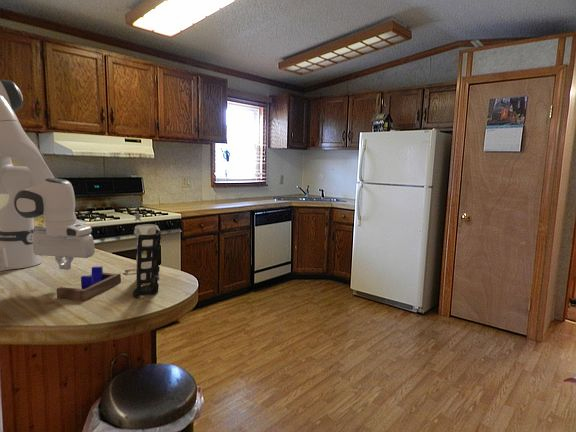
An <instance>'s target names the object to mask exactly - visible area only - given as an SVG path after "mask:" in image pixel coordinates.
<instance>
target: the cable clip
mask: <svg viewBox="0 0 576 432" xmlns="http://www.w3.org/2000/svg"><path fill="white" fill-rule="evenodd" d="M103 273H104V271H103V265H102V266H101V265H99V266H92V267H91V274H90V275H89V274H88V275H82V276H80V285H81V289H85V288H87V287H89V286H91V285H93V284H96V283H98V282H100V281H102V280H103Z"/></svg>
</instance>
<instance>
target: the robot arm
mask: <svg viewBox="0 0 576 432" xmlns="http://www.w3.org/2000/svg"><path fill="white" fill-rule="evenodd" d="M23 106H24V96H23V94H22V91H21V89H20V88H19V87H18V86H17V84H16V82H13V81H12V80H9V79H0V195H8V201H7V202H6V204H5V205H4V206H2V207H1V208H0V272H3V271H8V270H17V269H24V268H29V267H34V266H37V265H40V264H42V257H41V256H44V257H45V256H46V257H54V260H55V261H56V263H57V265H58V266H59V267H58V268H59V270H64V271H65V270H67V271H69V270H70V269H71V268H72V262H73V260H74V259H75V258H78V259H79V258H82V259H88V258H91V257H93V256H94V255H95V252H96V251H95V250H96V249H95V248H96V247H95V241H94V237H93V235H92V232H93V229H92V227H91V226H90V225H88V224H87V225H86V224H85V223H82V222H80V221H77V216H76V212H75V211H76V210H75V209H76V196H75V191H74V187H73V185H72V182H70V181H69V180H67V179H64V178H60V177H59V178H58V177H57V175H56V174H55V172H54V169H52V167H51V165H50V163H49V162H48V160H47V159H46V157H45V155H44V153H43V152H42V151H41V149H40V148H39V147H38V146H37V145H36V144H35V143H34V142H33V141H32V139H30V137H29V136H28V134H27V133H26V132H25V130H24V129H23V127H22V124H21V123H20V121H19V118H18V117H17V114H16V112H17V111H18V110H20V109H21V108H22V107H23ZM12 159H13V160H15V161H18V162H20V163H22V164H23V165H25V166H23V165H21V166H20V165H18V166H17V165H14V164H13V162H12V161H13V160H12ZM42 217H44V220H45V221H44V222H45V223H44V224H45V225H44V226H46V228H42V227H38V228H37V229H35V228H34V226H35V223H34V222H35V221H34V219H36V218H37V219H38V218H42ZM64 260H65V261H64Z"/></svg>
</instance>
